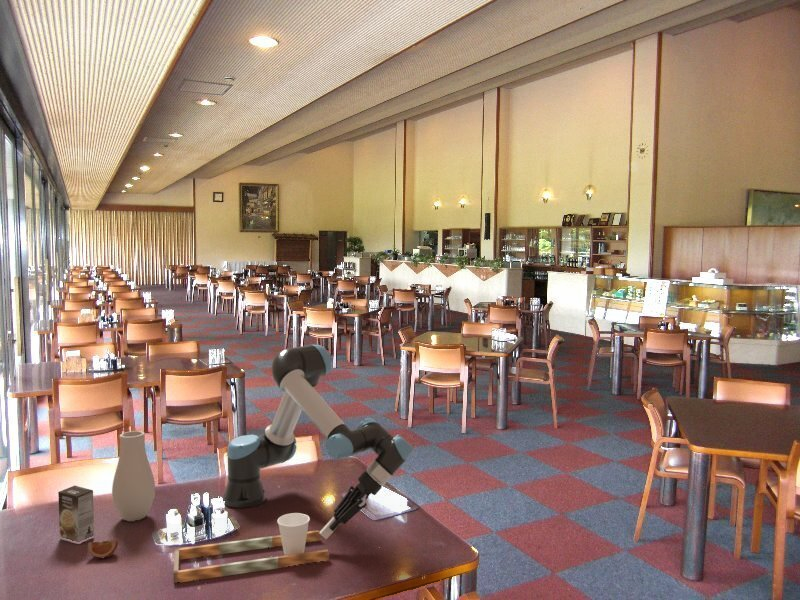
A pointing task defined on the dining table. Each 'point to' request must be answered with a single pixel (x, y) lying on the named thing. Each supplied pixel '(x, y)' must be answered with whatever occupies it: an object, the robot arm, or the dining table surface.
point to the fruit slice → (102, 548)
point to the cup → (293, 532)
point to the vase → (133, 478)
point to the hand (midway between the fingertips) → (322, 535)
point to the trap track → (244, 565)
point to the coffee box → (76, 513)
